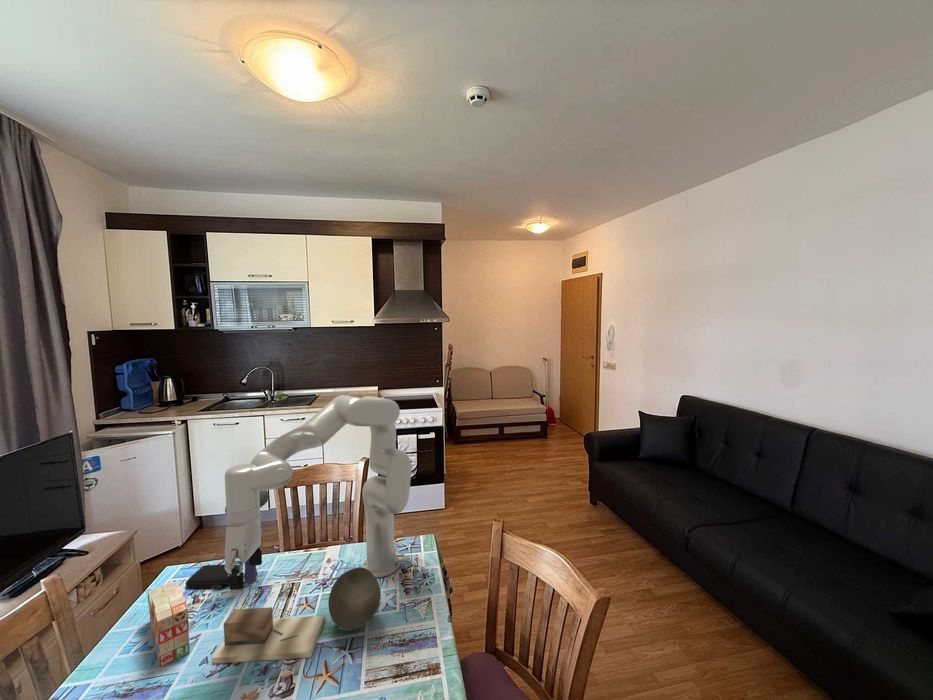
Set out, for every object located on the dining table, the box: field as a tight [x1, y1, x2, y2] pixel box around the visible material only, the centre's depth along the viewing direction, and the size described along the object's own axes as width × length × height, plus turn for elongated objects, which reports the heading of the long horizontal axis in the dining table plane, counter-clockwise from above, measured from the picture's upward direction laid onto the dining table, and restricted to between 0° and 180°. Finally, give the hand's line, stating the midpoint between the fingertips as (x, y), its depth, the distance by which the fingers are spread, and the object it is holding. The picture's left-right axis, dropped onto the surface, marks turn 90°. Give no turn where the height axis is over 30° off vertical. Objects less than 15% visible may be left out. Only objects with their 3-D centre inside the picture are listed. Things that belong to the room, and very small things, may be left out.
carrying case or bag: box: [185, 564, 244, 590], centre depth 127 cm, size 11×3×15 cm
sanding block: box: [223, 606, 274, 646], centre depth 101 cm, size 10×5×6 cm, turn 93°
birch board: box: [211, 615, 326, 665], centre depth 102 cm, size 24×12×2 cm, turn 94°
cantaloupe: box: [327, 566, 382, 631], centre depth 107 cm, size 14×14×15 cm
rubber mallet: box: [224, 490, 270, 583], centre depth 126 cm, size 12×8×30 cm, turn 170°
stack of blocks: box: [147, 581, 191, 668], centre depth 103 cm, size 21×6×12 cm, turn 45°
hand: (246, 576), depth 100 cm, fingers open, 9 cm apart
